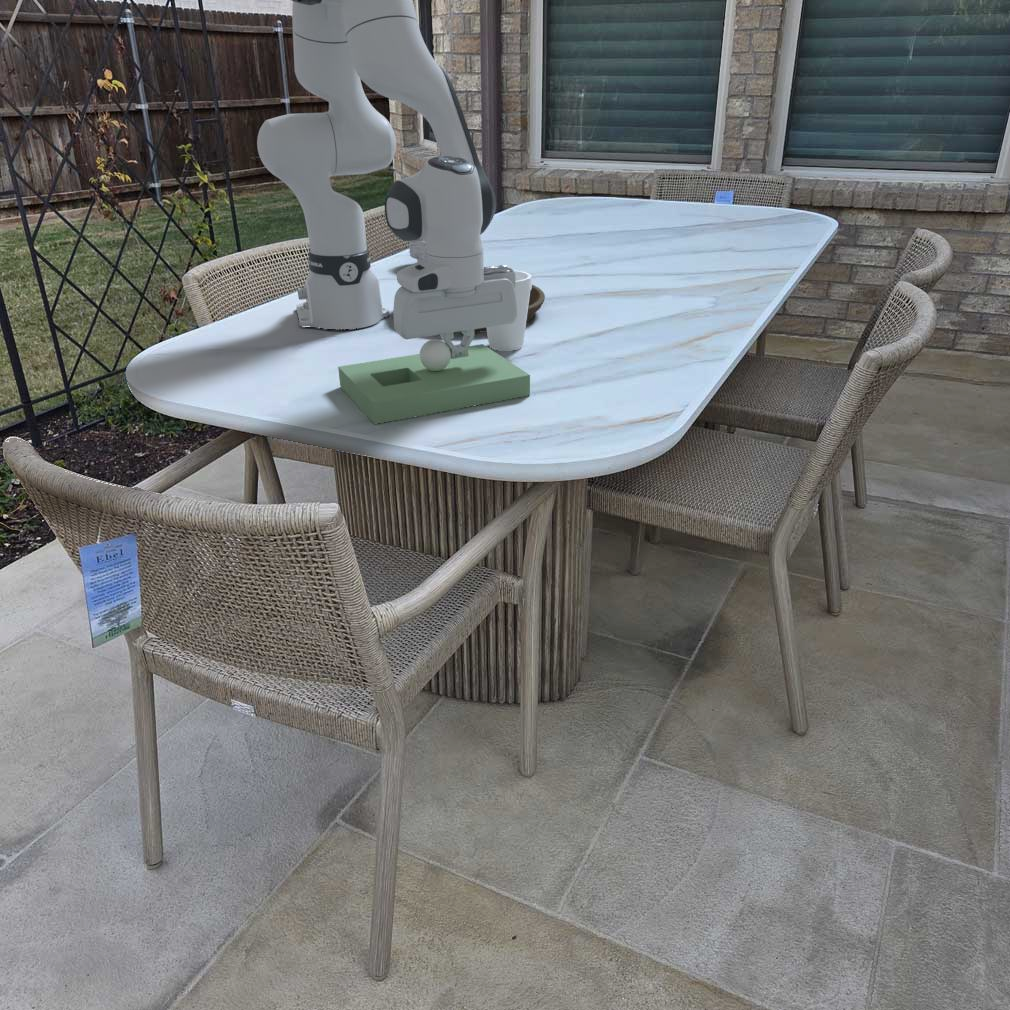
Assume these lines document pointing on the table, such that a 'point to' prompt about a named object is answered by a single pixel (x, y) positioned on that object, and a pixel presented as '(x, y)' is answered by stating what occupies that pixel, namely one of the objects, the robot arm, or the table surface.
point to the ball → (435, 355)
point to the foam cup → (514, 333)
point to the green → (431, 384)
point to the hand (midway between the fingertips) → (458, 357)
